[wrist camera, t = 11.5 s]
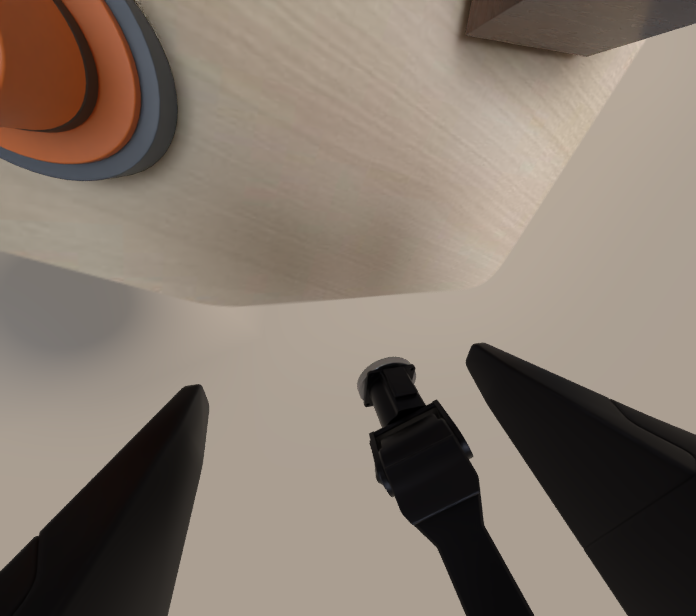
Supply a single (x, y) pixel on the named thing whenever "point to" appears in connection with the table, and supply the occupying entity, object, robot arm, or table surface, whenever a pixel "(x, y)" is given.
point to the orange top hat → (65, 81)
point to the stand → (154, 110)
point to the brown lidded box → (577, 22)
